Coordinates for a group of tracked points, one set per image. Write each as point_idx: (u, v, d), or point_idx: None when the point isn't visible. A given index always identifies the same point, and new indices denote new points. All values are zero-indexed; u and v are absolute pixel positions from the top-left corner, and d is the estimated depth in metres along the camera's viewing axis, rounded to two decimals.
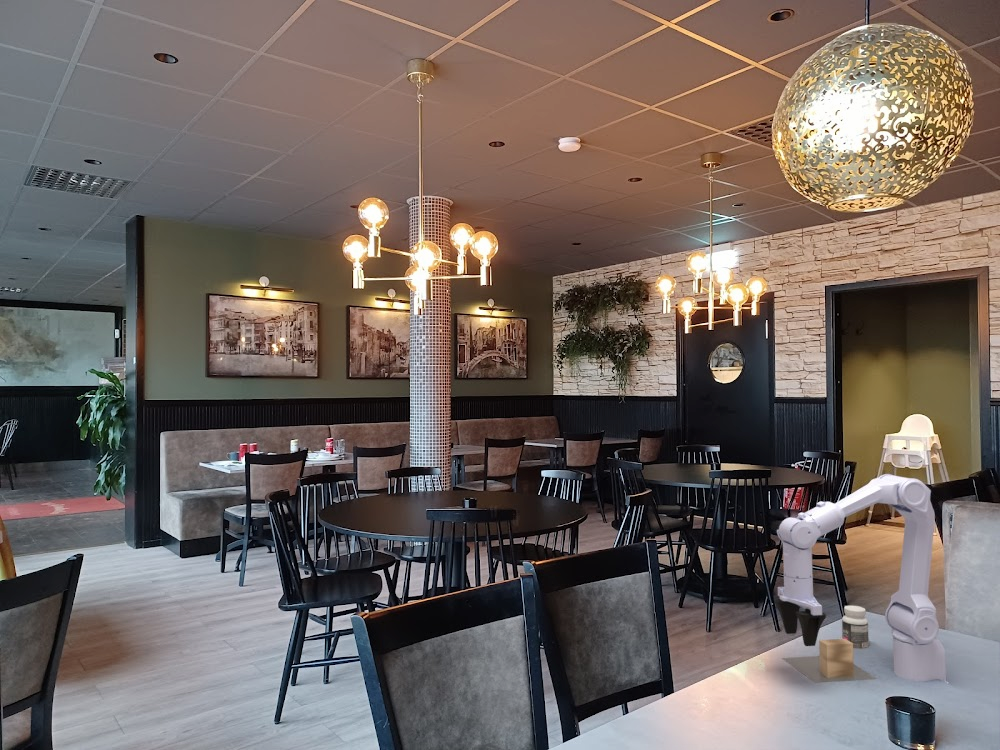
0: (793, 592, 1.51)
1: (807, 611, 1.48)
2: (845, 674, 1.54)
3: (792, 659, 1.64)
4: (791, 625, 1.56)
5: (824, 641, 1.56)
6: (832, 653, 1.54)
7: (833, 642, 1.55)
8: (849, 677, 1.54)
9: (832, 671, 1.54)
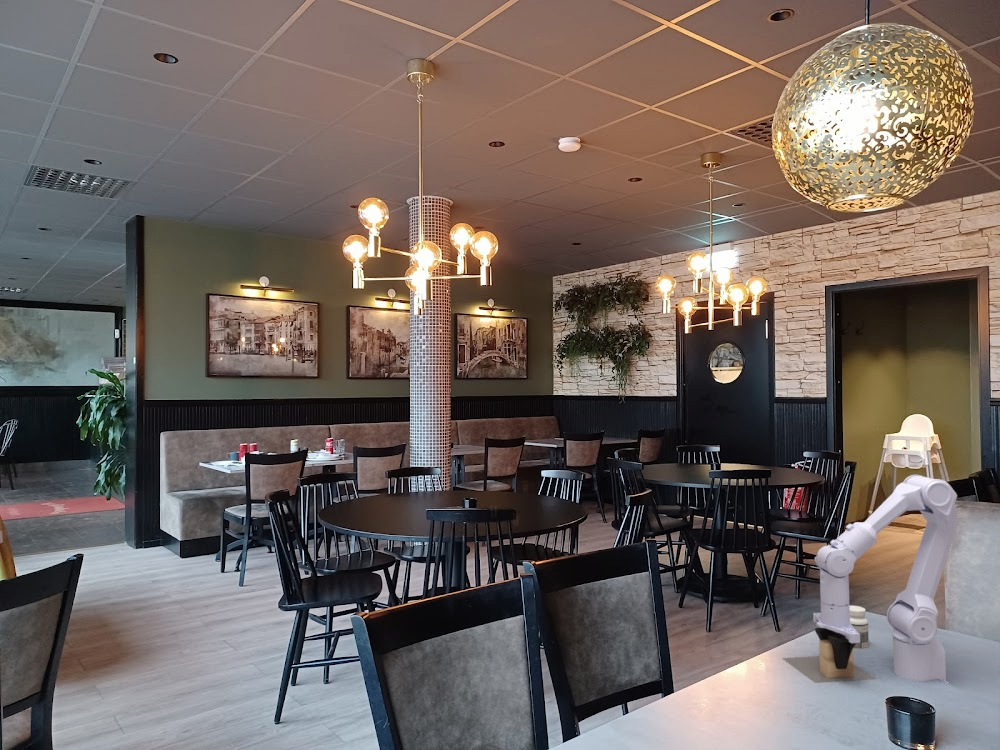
0: (830, 620, 1.54)
1: (839, 635, 1.53)
2: (845, 674, 1.54)
3: (792, 659, 1.64)
4: None
5: (824, 641, 1.56)
6: (832, 653, 1.54)
7: None
8: (849, 677, 1.54)
9: (832, 671, 1.54)
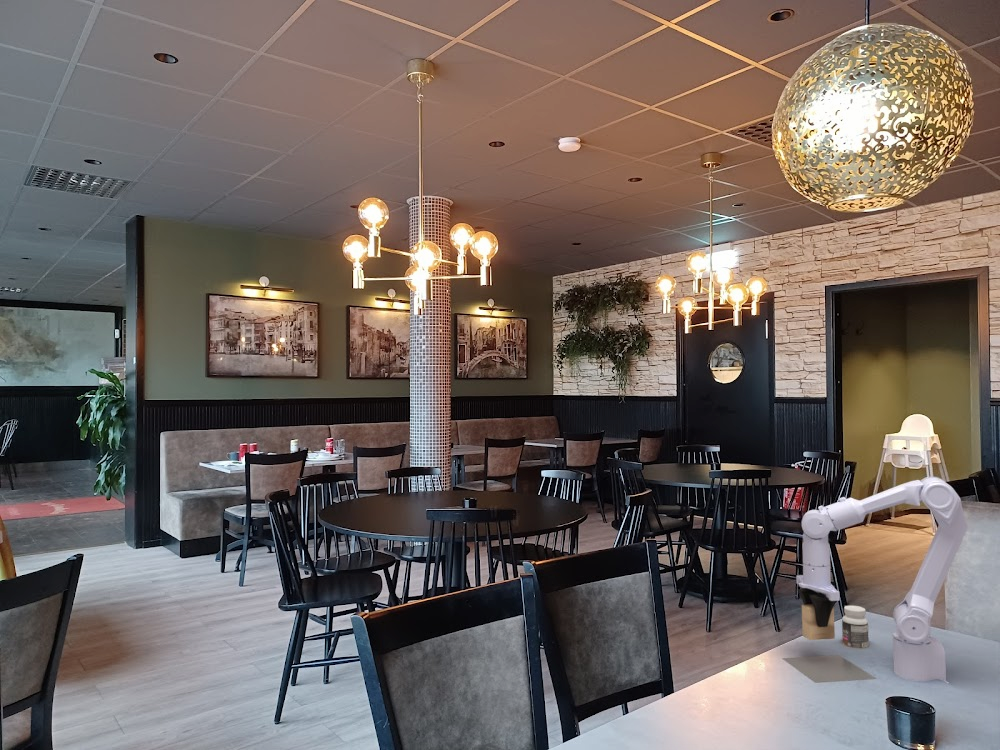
0: (811, 580, 1.61)
1: (820, 594, 1.60)
2: (826, 637, 1.61)
3: (792, 659, 1.64)
4: None
5: (806, 606, 1.63)
6: (814, 617, 1.61)
7: None
8: (849, 677, 1.54)
9: (814, 634, 1.61)
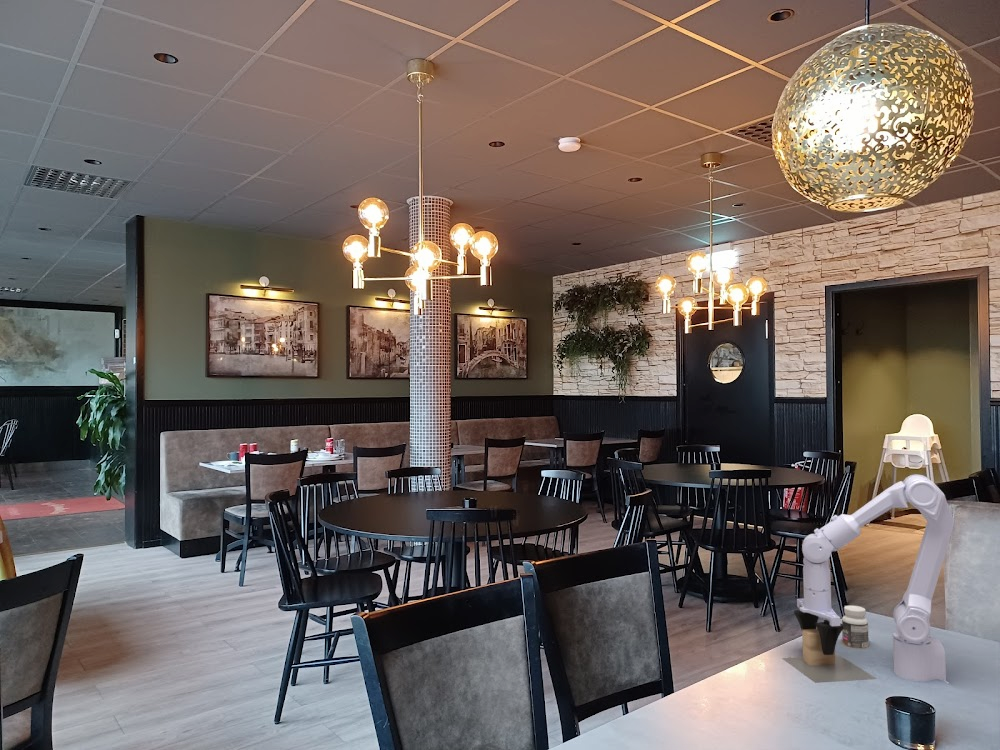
0: (812, 604, 1.61)
1: (826, 622, 1.58)
2: (827, 662, 1.61)
3: (792, 659, 1.64)
4: None
5: (807, 630, 1.63)
6: (814, 642, 1.61)
7: (815, 631, 1.62)
8: (849, 677, 1.54)
9: (814, 659, 1.61)
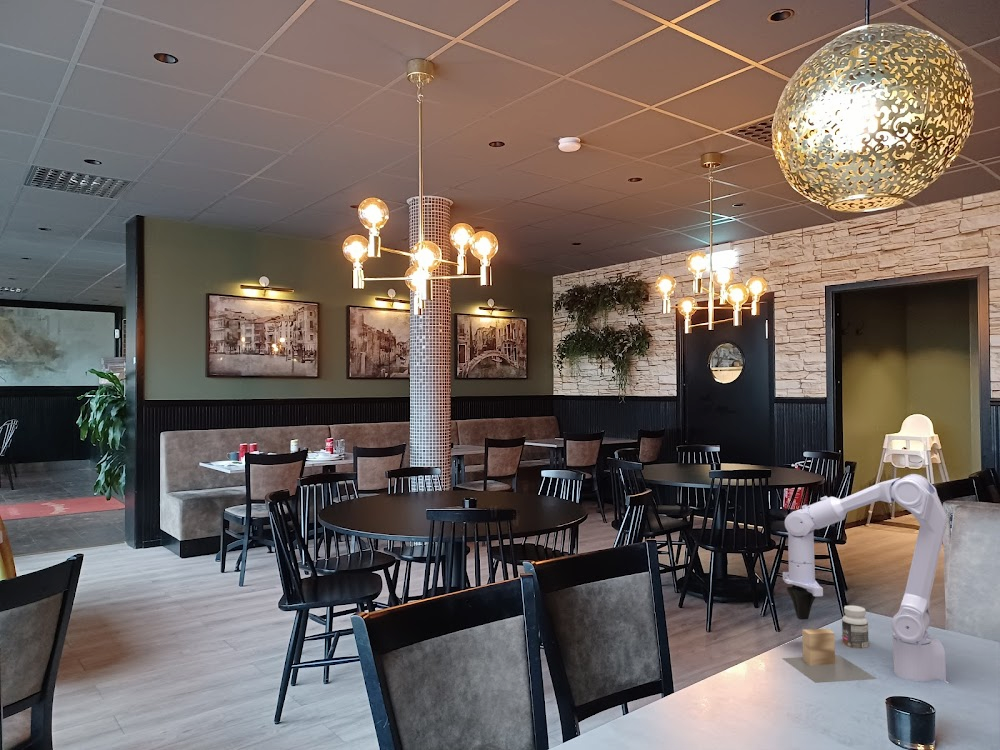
0: (796, 576, 1.67)
1: (801, 589, 1.68)
2: (827, 662, 1.61)
3: (792, 659, 1.64)
4: None
5: (807, 630, 1.63)
6: (814, 642, 1.61)
7: (815, 631, 1.62)
8: (849, 677, 1.54)
9: (814, 659, 1.61)
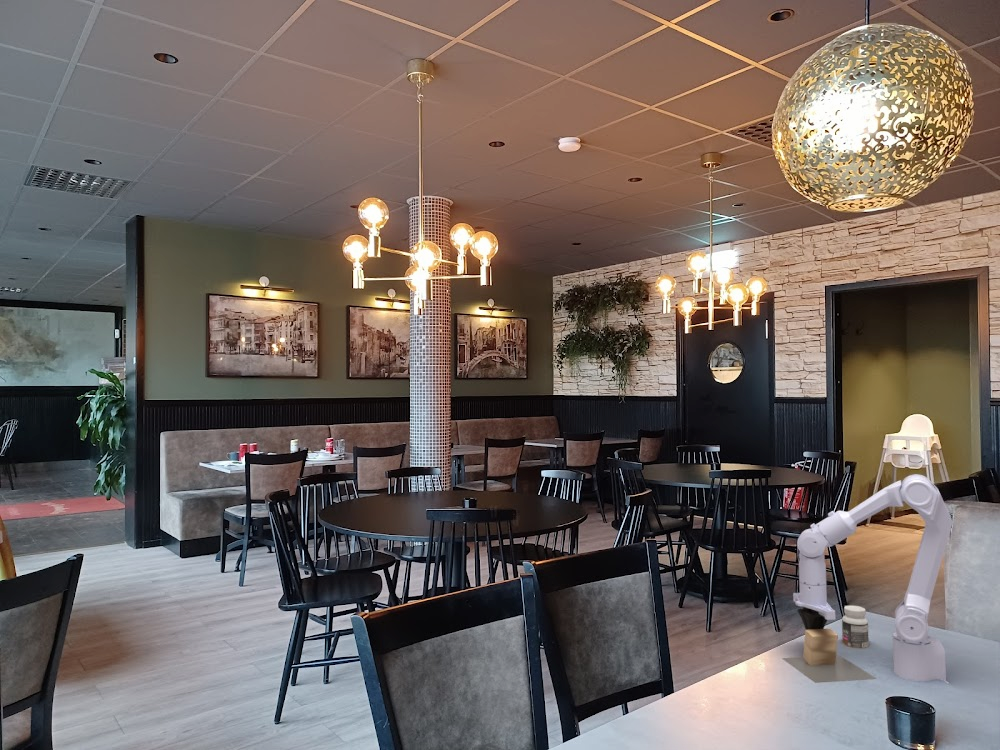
0: (808, 598, 1.63)
1: (813, 611, 1.63)
2: (827, 662, 1.61)
3: (792, 659, 1.64)
4: None
5: (810, 631, 1.62)
6: (817, 644, 1.60)
7: (818, 632, 1.61)
8: (849, 677, 1.54)
9: (815, 660, 1.61)
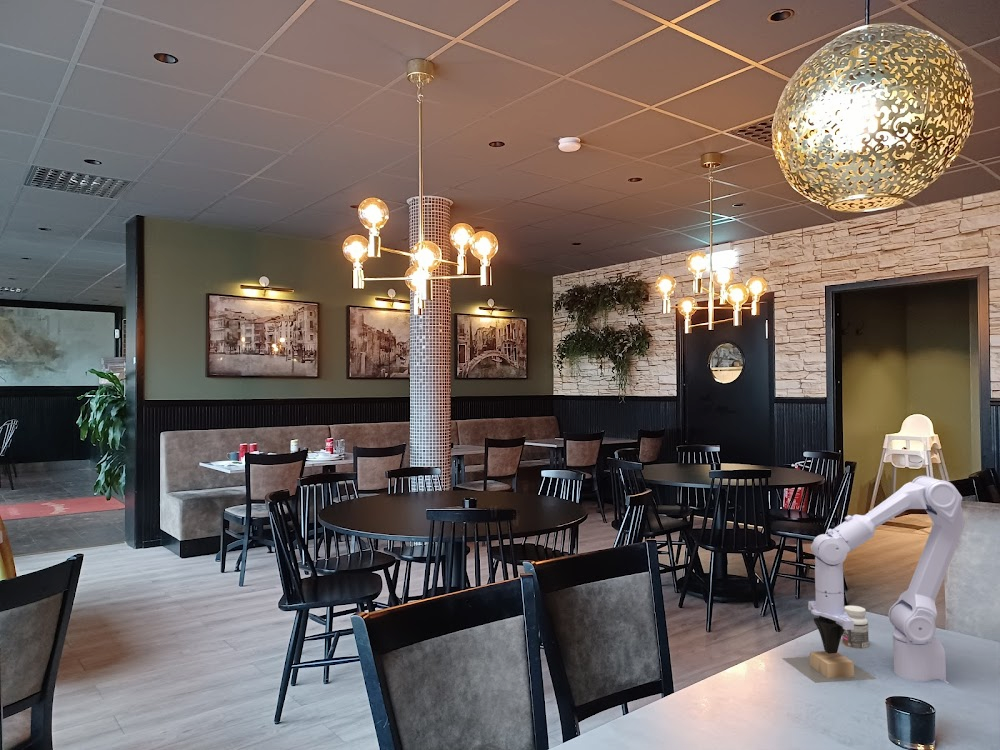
0: (824, 607, 1.56)
1: (830, 620, 1.56)
2: None
3: (792, 659, 1.64)
4: None
5: (830, 668, 1.54)
6: None
7: (837, 670, 1.54)
8: (849, 677, 1.54)
9: None
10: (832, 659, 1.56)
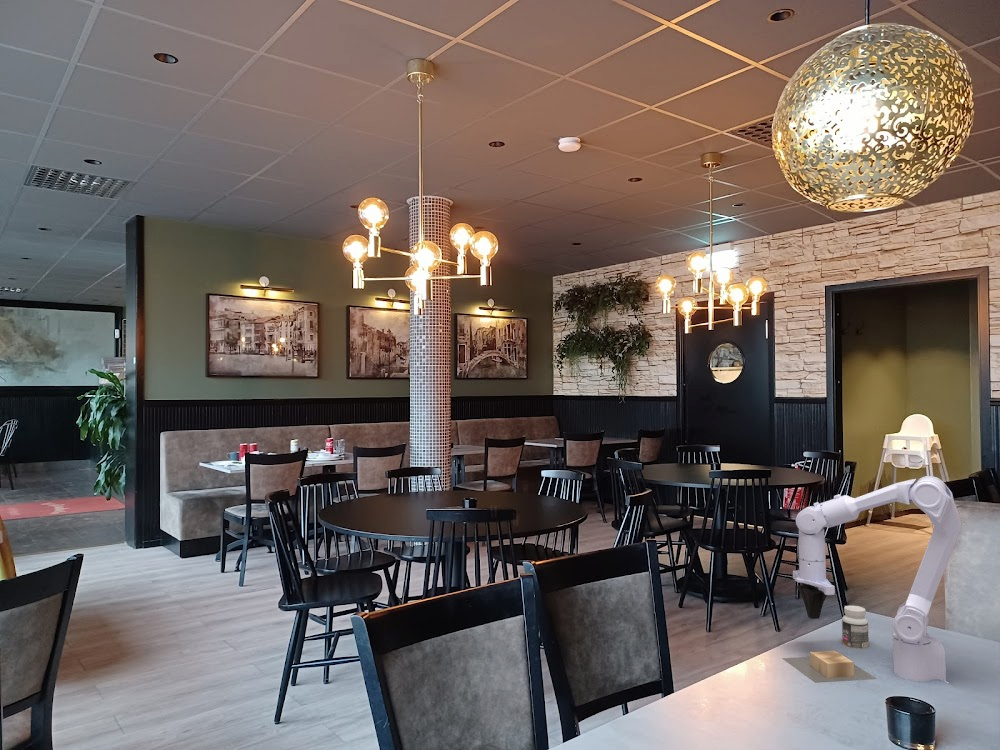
0: (807, 574, 1.64)
1: (812, 587, 1.65)
2: None
3: (792, 659, 1.64)
4: None
5: (830, 668, 1.54)
6: None
7: (837, 670, 1.54)
8: (849, 677, 1.54)
9: None
10: (832, 659, 1.56)
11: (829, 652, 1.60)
